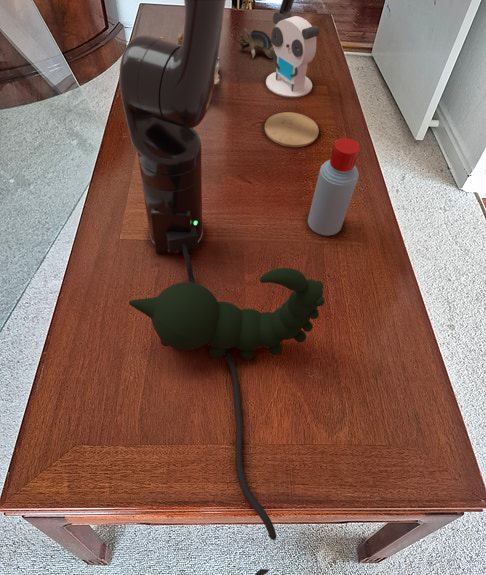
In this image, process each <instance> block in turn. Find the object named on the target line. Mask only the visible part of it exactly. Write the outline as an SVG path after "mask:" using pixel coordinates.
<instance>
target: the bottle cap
mask: <svg viewBox="0 0 486 575" xmlns="http://www.w3.org/2000/svg"><path fill="white" fill-rule="evenodd" d="M359 152H360V144H359V143H358V142H357V141H356V140H354V139H352V138H347V137H343V138H338V139H337V140H335V142H334V145H333V148H332V151H331V155H330V159H329V160H330V164H331V166H332V167H333V168H334V169H335V170H338V171H341V172H347V171H350V170H352V169H353V167H354V166H355V167H356V163H357V159H358V156H359Z"/></svg>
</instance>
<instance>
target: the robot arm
mask: <svg viewBox="0 0 486 575" xmlns="http://www.w3.org/2000/svg"><path fill="white" fill-rule="evenodd" d="M183 1H184V2H183V4H184V22H183V42H182V45H180V44H178V43H176V42H172V41H170V40H166V39H165V40H163V39H159V38H160V37H156V36H151V35H146V34H141V35H138V36H135V37H134V38H132V39H131V40H130V41H129V42H128V43H127V45H126V46H125V48H124V50H123V53H122V55H121V59H120V64H119V74H118V75H119V91H120V97H121V103H122V108H123V111H124V116H125V121H126V124H127V129H128V134H129V139H130V142H131V144H132V147H133V149H134V150H135V151H136V153H137V158H138V165H139V170H140V172H139V173H140V179H141V184H142V192H143V199H144V204H145V205H144V206H145V212H146V218H147V225H148V234H149V240H150V242H151V244H152V245H153V246H154V249H155V253H156V254H167V255H168V254H169V255H183V258H184V262H185V266H186V271H187V279H188V282H192V283H196V281H195V276H194V272H193V266H192V261H191V256H190V255H192V254H193V251H194V249H196V248H199V245H200V244H201V243H202V240H203V238H204V227H203V190H202V189H203V188H202V186H203V182H202V172H203V171H202V142H201V138H200V135H199V134H198V132H197V131H196V130H195V128H196V127H197V126H199V125H200V124H201V122H202V121H203V120H204V119H205V116H206V114H207V112H208V109H209V107H210V104H211V101H212V96H213V91H214V86H215V85H214V81H215V75H216V68H217V60H218V56H219V53H220V52H219V51H220V45H221V44H220V43H221V36H222V30H223V29H222V28H223V21H224V14H225V6H226V1H227V0H183ZM294 2H295V0H282V1H281V5H280V7H279V11H278V12H279V13H281V14H286V13H287V12H289V11H291V10H292V7H293V4H294ZM229 349H230V348H228V349H226V353H225V354H224V357H225V359H226V362H227V365H228V369H229V371H230V376H231V381H232V390H233V403H234V415H235V447H234V448H235V452H234V456H235V457H234V458H235V470H236V475H237V480H238V483H239V486H240V489H241V492H242V494H243V495H244V496H245V499H246V500H247V501H248V503H249V505H250V506H251V508H252V509H253V510H254V511H255V513H256V514H257V515H258V516H259V518H260V519H261V521H262V524H264V527H265V529H266V531H267V534H268V537H269V539H270V540H272V541H275V540H276V539H277V532H276V529H275V526H274V524H273V522H272V520H271V518H270V516H269V515H268V514H267V512H266V511H265V509H264V508H263V506H262V505H261V504H260V503H259V501H258V500H257V499H256V497H255V495H254V494H253V493H252V491H251V489H250V487H249V484H248V483H247V482H248V481H247V480H246V476H245V472H244V464H243V427H244V426H243V414H242V413H243V412H242V401H241V388H240V381H239V376H238V372H237V367H236V364H235V361H234V358H233V356H232V353H231V351H230V350H229ZM269 571H270V569H269V568H260V569H258V571H256V573H255V574H254V575H267V574H268V573H269Z"/></svg>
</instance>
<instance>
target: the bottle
mask: <svg viewBox="0 0 486 575" xmlns="http://www.w3.org/2000/svg"><path fill="white" fill-rule="evenodd" d="M359 176H360V174H359V171H358V168H357V167H356V165H355V166H354V167H353V169H352V170H350V171H347V172H341V171H338V170H335V169H334V168H333V167H332V166H331V164H330V159H329V160H325V161H324V163H322V165H321V166H320V169H319V172H318V176H317V180H316V185H315V189H314V193H313V195H312V196H313V197H312V201H311V205H310V208H309V212H308V216H307V224H308V226H309V228H310V230H312V231H313V232H314V233H316V234H318V235H321V236H326V237H327V236H334V235H337V234H338V233H339V232H340V231H341V230H342V228H343V224H344V221H345V218H346V215H347V212H348V209H349V207H350V203H351V201H352V198H353V194H354V191H355V189H356V186H357V183H358V181H359Z"/></svg>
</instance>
